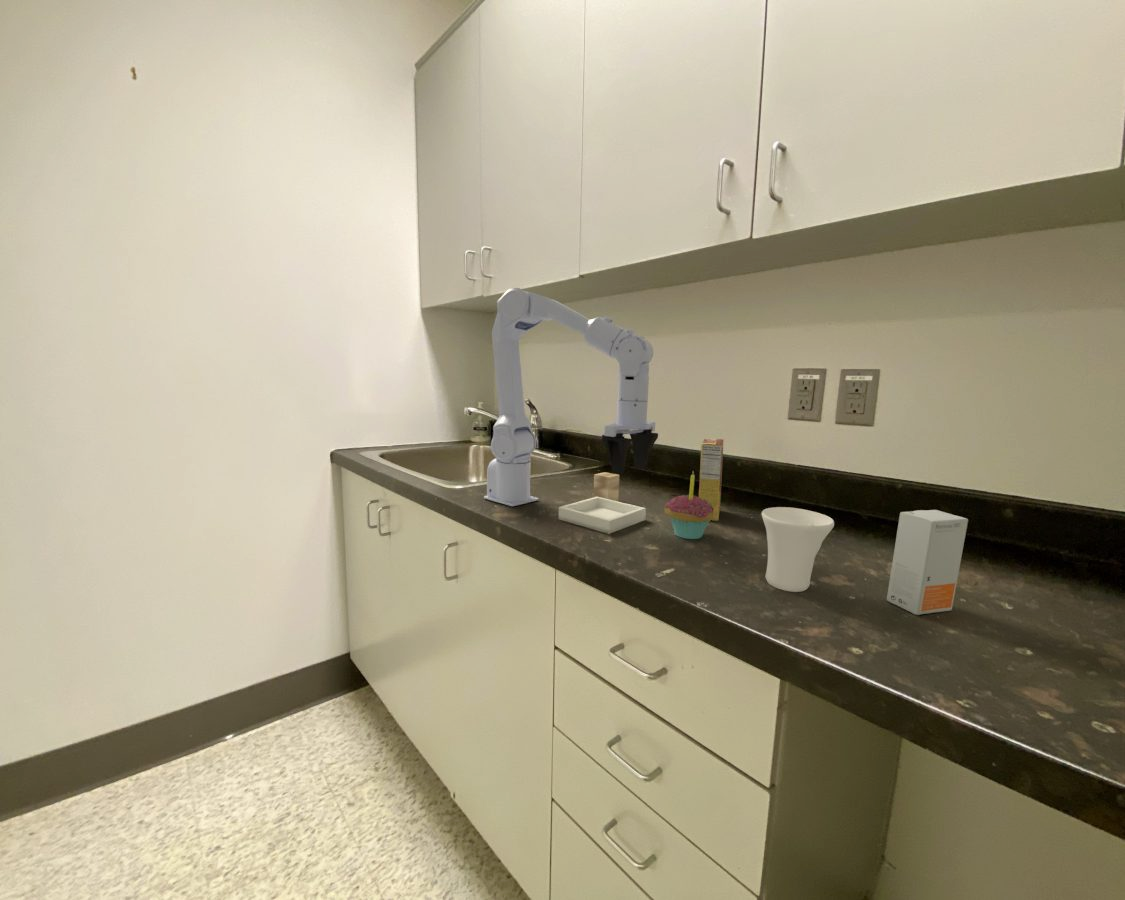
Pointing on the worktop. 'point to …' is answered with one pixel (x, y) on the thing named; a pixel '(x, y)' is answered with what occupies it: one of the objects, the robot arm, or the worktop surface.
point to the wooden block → (606, 486)
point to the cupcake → (689, 514)
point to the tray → (602, 514)
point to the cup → (793, 545)
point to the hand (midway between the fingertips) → (629, 470)
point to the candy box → (711, 473)
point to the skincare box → (926, 561)
